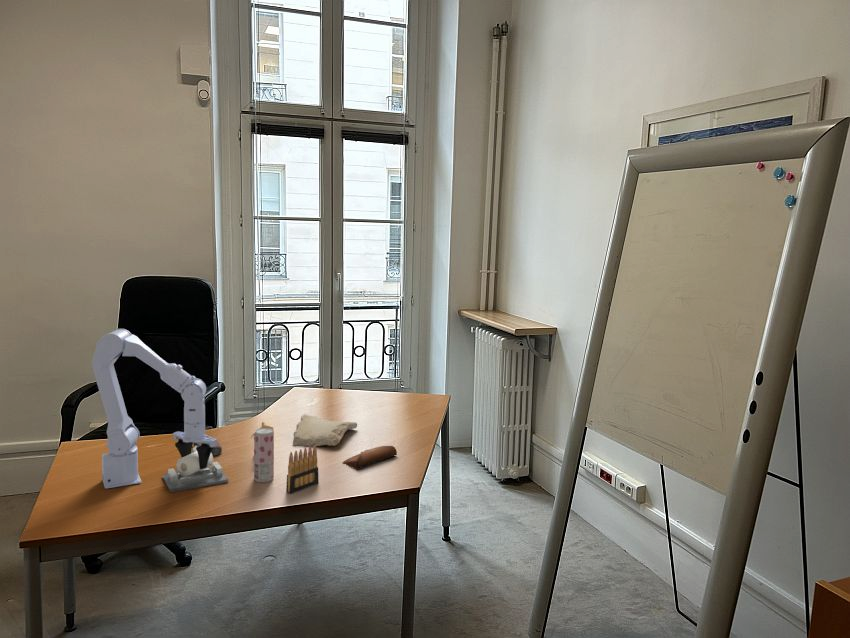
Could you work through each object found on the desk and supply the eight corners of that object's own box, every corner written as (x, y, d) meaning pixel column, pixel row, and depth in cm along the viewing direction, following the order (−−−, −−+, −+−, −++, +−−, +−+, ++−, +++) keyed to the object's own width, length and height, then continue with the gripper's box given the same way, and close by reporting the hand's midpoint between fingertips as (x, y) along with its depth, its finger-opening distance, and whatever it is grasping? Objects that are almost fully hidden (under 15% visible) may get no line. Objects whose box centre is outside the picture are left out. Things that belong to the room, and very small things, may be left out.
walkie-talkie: (187, 447, 214) (199, 467, 197) (187, 434, 213) (199, 453, 196) (213, 443, 218) (227, 462, 201) (213, 431, 218) (227, 449, 201)
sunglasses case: (378, 449, 217) (386, 436, 214) (391, 464, 214) (399, 450, 211) (340, 463, 204) (347, 448, 201) (352, 479, 200) (360, 464, 197)
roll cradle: (170, 492, 177) (170, 480, 176) (162, 477, 187) (162, 466, 186) (228, 482, 185) (228, 471, 185) (217, 468, 195) (217, 457, 195)
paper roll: (191, 478, 180) (191, 459, 180) (176, 474, 182) (176, 456, 182) (213, 467, 189) (213, 449, 188) (198, 464, 191) (198, 446, 190)
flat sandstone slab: (283, 447, 220) (337, 448, 215) (282, 426, 219) (336, 426, 215) (310, 428, 243) (360, 429, 239) (309, 409, 243) (359, 410, 238)
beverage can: (276, 475, 191) (276, 428, 189) (270, 483, 186) (270, 434, 184) (257, 474, 192) (257, 427, 190) (251, 482, 186) (251, 433, 184)
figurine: (268, 451, 211) (268, 417, 210) (277, 456, 207) (278, 421, 206) (245, 457, 206) (245, 421, 204) (255, 462, 201) (255, 426, 200)
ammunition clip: (290, 494, 179) (290, 453, 177) (286, 492, 180) (286, 451, 178) (318, 483, 187) (319, 444, 186) (314, 481, 188) (315, 442, 187)
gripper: (164, 421, 182) (165, 466, 184) (204, 429, 177) (205, 475, 179) (182, 415, 189) (183, 458, 191) (221, 422, 184) (222, 467, 186)
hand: (195, 466), depth 185 cm, fingers closed on paper roll, 5 cm apart
